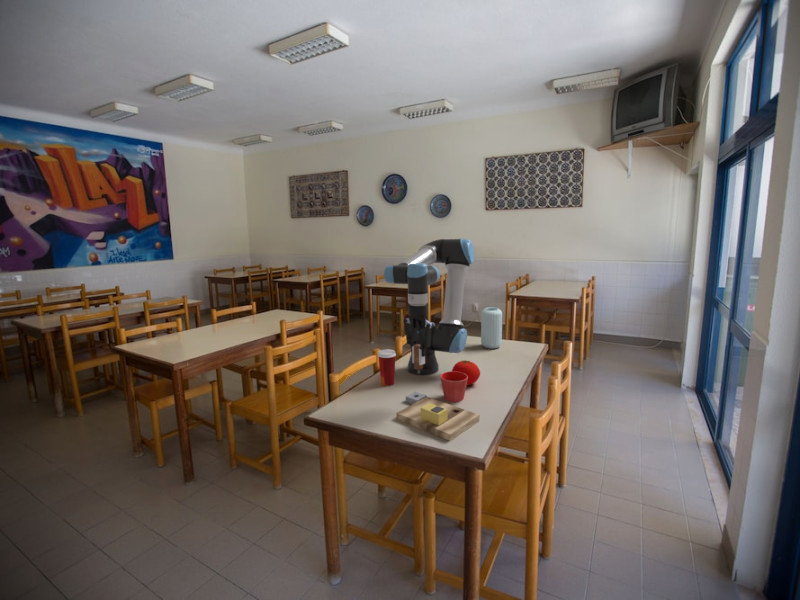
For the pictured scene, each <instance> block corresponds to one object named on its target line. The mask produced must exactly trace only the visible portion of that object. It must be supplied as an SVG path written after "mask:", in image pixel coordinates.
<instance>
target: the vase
mask: <svg viewBox="0 0 800 600" xmlns="http://www.w3.org/2000/svg"><path fill="white" fill-rule="evenodd" d="M480 319H481V323H480V326H481V327H480V328H481V330H480V331H481V332H480V342H481V344H482V346H483V347H484V348H487V349H489V350H490V349H491V350H492V349H498V348H499V347H501V346H502V344H503V343H502V342H503V341H502V340H503V339H502V338H503V311H502V310H501V309H500V308H499V307H491V306H490V307H485V308H483V309H482V310H481V316H480Z"/></svg>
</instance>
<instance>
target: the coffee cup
mask: <svg viewBox="0 0 800 600" xmlns="http://www.w3.org/2000/svg"><path fill="white" fill-rule="evenodd" d="M376 355H377V357H378V366H379V367H378V368H379V377H380V384H381V386H383V387H391V386H393V385H395V378H396V377H395V376H396V356H397V353H396V351H395V350H393V349H389V348H387V349H381V350H379V351H378V353H377V354H376Z"/></svg>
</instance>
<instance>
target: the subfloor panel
mask: <svg viewBox="0 0 800 600" xmlns="http://www.w3.org/2000/svg"><path fill="white" fill-rule="evenodd" d="M429 403H431V404H434V405H436V406H439V407H442V408H445V409H447V417H448V420H447V421H445V422H444V423H442V424H440V425H436V424H434V423H431V422H429V421H426V420H424V419H421V407H423V406H425V405H427V404H429ZM395 414H396V415H395V416H396V420H399V421H401V422H404V423H407V424H408V425H411V426H414V427H416V428H418V429H420V430H423V431H425V432H428V433H430V434H432V435H434V436H436V437H439V438H442V439H444V440H446V441H448V442H451V441H452V440H455V438H457V437H458V436H460V435H462V434H463V433H464V432H465V431H467V430H469V428H472V427H473V426H474V425H476V424H477V423H479V422H480V414H479V413H476V412H472V411H470V410H468V409H464V408H460V407H458V406H455V405H452V404H449V403H447V402H443V401H440V400H437V399H435V398H431V397H428V396H427V397H426V398H424V399H422V400H420V401H418V402H416V403H415V404H411V405H409V406H407V407H404V408H403V409H401V410H399V411H398V412H396V413H395Z"/></svg>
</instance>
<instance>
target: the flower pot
mask: <svg viewBox="0 0 800 600" xmlns="http://www.w3.org/2000/svg"><path fill="white" fill-rule="evenodd" d="M439 376H440V382H441V388H442V392H443V395H444V396H443V397H444V400H446V401H447V402H451V403H459V402H462V401H463V400H464V397H465V396H466V395H465V394H466V389H467V386H468V385H467V380H468V376H467V375H466V374H464V373H462V372H457V371H452V370H451V371H446V372H443V373H441V374H440V375H439Z"/></svg>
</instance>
